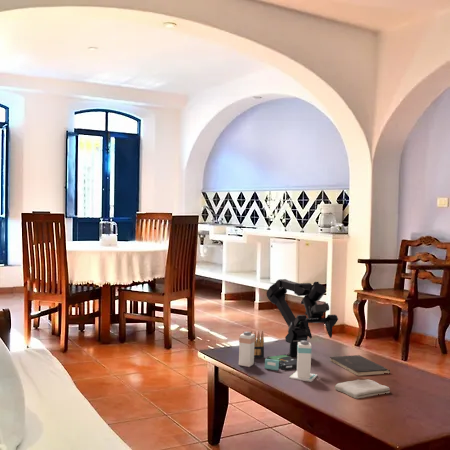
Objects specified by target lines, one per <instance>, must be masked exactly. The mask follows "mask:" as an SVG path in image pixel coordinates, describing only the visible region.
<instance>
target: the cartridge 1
mask: <svg viewBox="0 0 450 450" xmlns="http://www.w3.org/2000/svg"><path fill="white" fill-rule="evenodd" d="M243 332H244V333H241V334H240V335H239V338H238V343H239V346H238V347H239V348H238V366H243V367H248V368H250V367H251V366H253V365H254V364H255V358H254V343H255V334H254V333H252V334H251V331H248V332H247V331H243Z"/></svg>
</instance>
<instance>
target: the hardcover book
mask: <svg viewBox="0 0 450 450" xmlns="http://www.w3.org/2000/svg"><path fill="white" fill-rule="evenodd" d="M329 358H330V362H332V363H334V364H335V365H337V366H339V367H340V368H343V369H344V370H346V371H348V372H350V373H352V374H354V375H355V376H357V377H359V376H371V375H372V376H373V375H385V374H384V373H388V374H389V373H390V374H391V370H390V369H389V368H386V367H385V366H382V365H380V364H378V363H376V362H375V361H372V360H370V359H368V358H366V357H364V356H362V355H359V354H357V355H339V356H337V355H335V356H329Z"/></svg>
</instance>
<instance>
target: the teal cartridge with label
mask: <svg viewBox="0 0 450 450" xmlns="http://www.w3.org/2000/svg"><path fill="white" fill-rule="evenodd" d="M264 369H266V370H267V369H268V370H272V371H279V369H280V368H279V361H277V360H271V359H266V358H265V359H264Z"/></svg>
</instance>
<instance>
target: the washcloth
mask: <svg viewBox="0 0 450 450" xmlns="http://www.w3.org/2000/svg"><path fill="white" fill-rule="evenodd" d="M334 389H335V390H336V391H338V392H341V393H344V394H345V395H347V396H349V397H351V398H354V399H364V398H369V397H373V396H378V394H379V395H384V394H385V393H386V394H389V393H391V392H390V387H389V386H387V385H382V384H381V383H378V382H377V381H375V380H371V379H359V378H357V379H355V380H349V381H344V382H338V383H337V384H335V386H334Z"/></svg>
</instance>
